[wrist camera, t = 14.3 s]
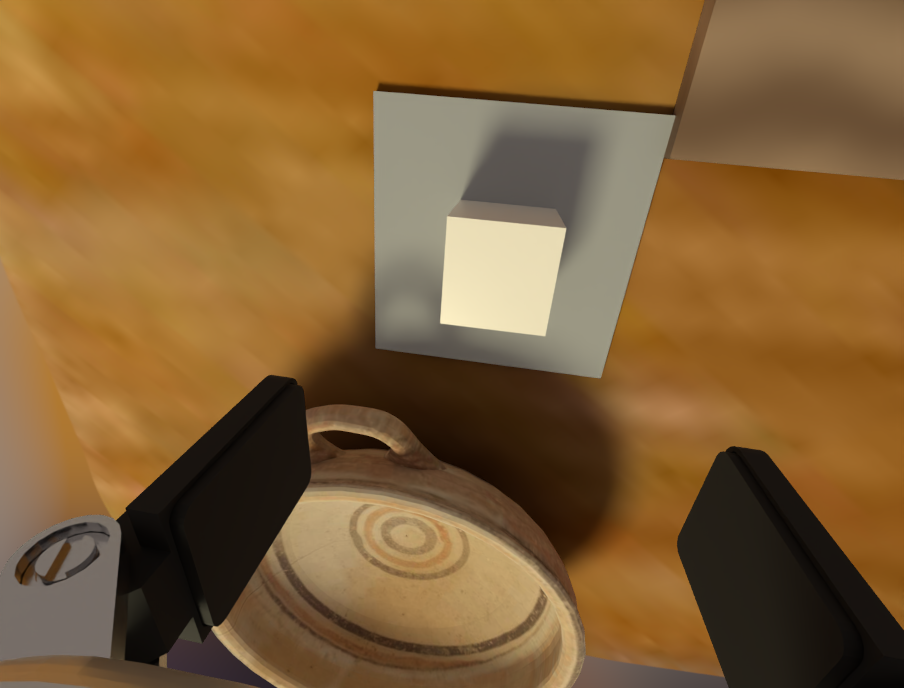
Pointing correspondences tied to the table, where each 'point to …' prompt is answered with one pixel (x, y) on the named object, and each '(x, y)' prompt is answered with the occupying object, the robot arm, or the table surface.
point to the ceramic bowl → (404, 577)
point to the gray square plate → (517, 183)
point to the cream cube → (501, 266)
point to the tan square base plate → (795, 87)
